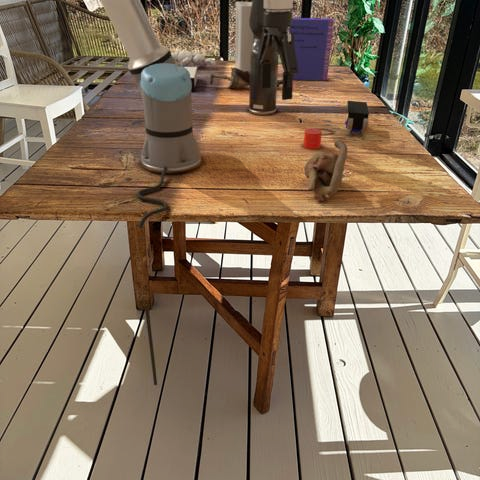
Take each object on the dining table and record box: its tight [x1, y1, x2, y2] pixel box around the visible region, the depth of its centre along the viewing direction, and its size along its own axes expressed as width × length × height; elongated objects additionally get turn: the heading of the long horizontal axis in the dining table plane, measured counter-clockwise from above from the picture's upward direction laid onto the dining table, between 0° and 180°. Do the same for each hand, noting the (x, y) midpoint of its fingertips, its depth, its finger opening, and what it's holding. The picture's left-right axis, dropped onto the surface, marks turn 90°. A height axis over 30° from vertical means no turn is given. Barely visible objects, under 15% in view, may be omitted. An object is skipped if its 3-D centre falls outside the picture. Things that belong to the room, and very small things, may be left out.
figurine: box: [209, 66, 283, 89], centre depth 190 cm, size 24×8×30 cm
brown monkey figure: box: [303, 139, 349, 202], centre depth 108 cm, size 13×9×15 cm
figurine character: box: [344, 100, 370, 136], centre depth 146 cm, size 7×8×15 cm
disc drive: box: [183, 66, 198, 92], centre depth 194 cm, size 18×22×5 cm
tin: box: [302, 128, 323, 150], centre depth 134 cm, size 5×5×4 cm
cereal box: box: [288, 17, 334, 82], centre depth 201 cm, size 17×5×24 cm, turn 86°
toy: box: [171, 50, 218, 68], centre depth 224 cm, size 24×25×7 cm
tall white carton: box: [234, 1, 253, 72], centre depth 210 cm, size 19×15×28 cm
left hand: (275, 93), depth 134 cm, fingers open, 13 cm apart
